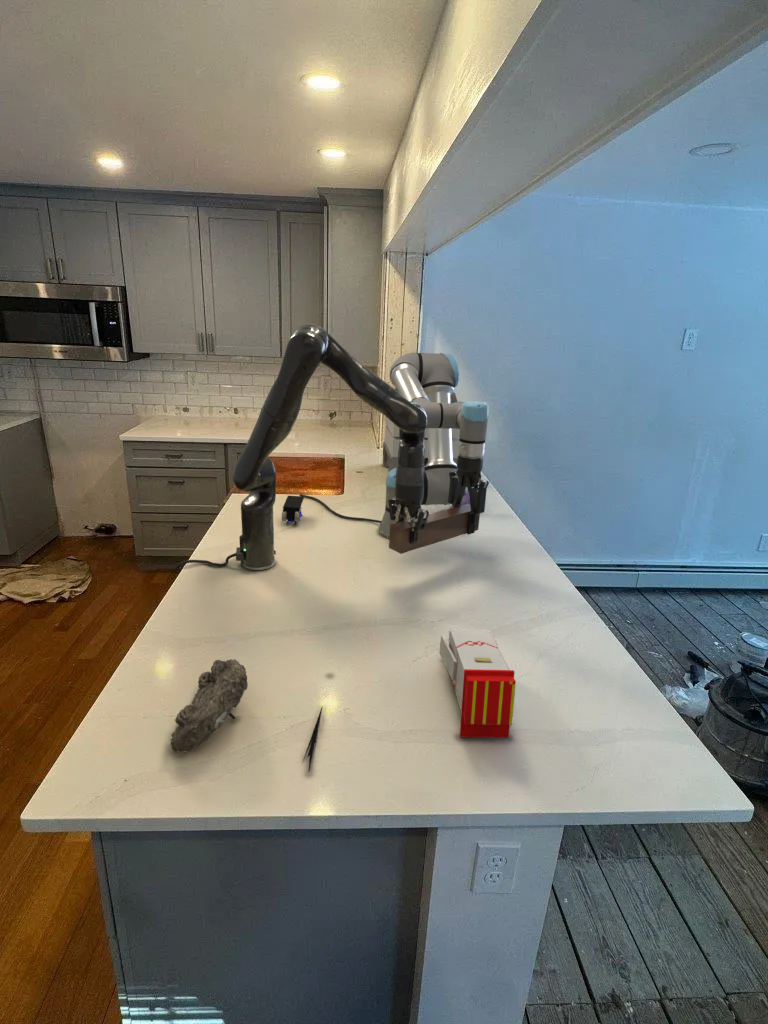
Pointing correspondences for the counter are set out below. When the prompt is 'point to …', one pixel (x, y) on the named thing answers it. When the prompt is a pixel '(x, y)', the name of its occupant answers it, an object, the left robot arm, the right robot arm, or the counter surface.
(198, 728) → the fossil
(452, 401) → the grey slatted crate
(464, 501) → the figurine
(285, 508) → the figurine character
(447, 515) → the walnut beam
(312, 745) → the feather
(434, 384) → the right robot arm
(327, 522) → the counter surface
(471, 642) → the toy
